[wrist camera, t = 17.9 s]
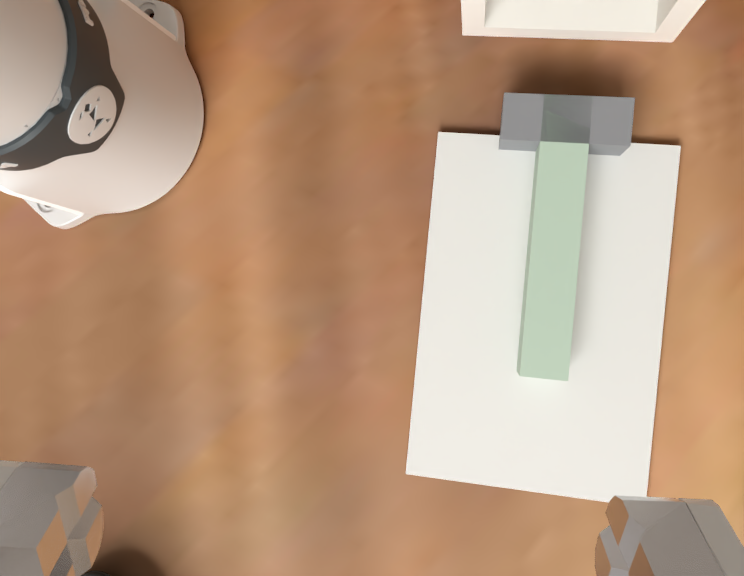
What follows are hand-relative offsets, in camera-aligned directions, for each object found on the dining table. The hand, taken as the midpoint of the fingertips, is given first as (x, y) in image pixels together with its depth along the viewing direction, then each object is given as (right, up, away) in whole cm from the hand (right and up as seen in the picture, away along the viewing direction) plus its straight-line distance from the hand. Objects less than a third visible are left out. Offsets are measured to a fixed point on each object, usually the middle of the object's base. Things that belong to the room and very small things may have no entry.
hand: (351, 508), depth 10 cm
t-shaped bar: (+12, +7, +34) cm, 37 cm away
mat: (+12, +2, +34) cm, 36 cm away
